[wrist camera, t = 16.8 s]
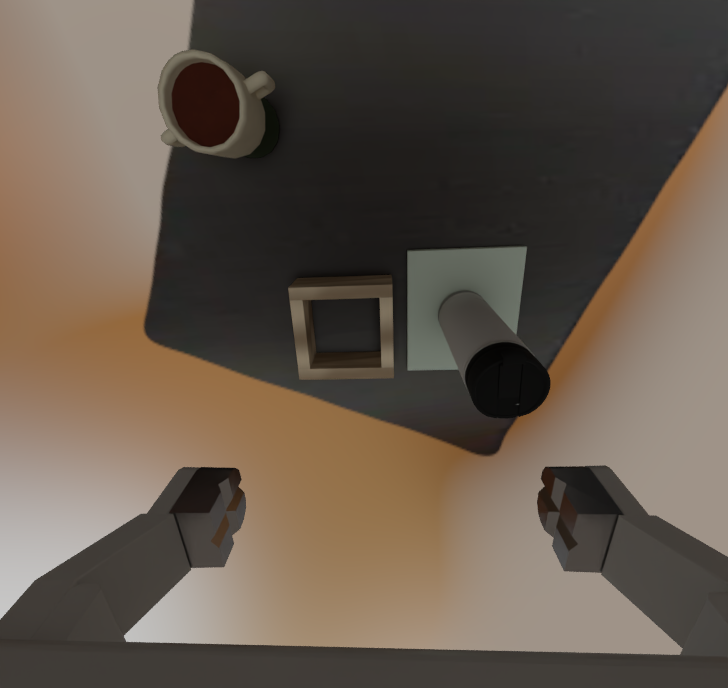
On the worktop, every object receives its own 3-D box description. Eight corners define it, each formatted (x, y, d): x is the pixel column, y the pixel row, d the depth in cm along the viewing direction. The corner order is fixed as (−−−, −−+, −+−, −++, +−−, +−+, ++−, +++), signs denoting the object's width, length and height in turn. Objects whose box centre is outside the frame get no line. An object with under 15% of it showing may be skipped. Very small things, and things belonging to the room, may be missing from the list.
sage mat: (407, 250, 46) (407, 251, 45) (524, 245, 45) (526, 246, 44) (407, 367, 52) (407, 370, 51) (509, 365, 51) (512, 368, 50)
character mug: (278, 65, 39) (233, 13, 27) (311, 135, 42) (283, 115, 30) (194, 119, 41) (118, 92, 29) (230, 182, 44) (173, 181, 32)
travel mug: (487, 284, 46) (558, 350, 28) (486, 334, 49) (551, 425, 30) (436, 289, 47) (472, 357, 28) (438, 338, 49) (472, 430, 31)
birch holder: (297, 278, 48) (288, 287, 43) (391, 274, 47) (392, 284, 43) (306, 362, 53) (299, 379, 48) (392, 360, 52) (393, 378, 47)
